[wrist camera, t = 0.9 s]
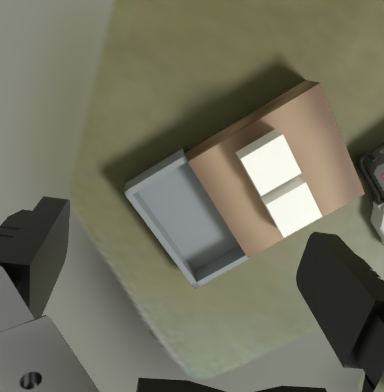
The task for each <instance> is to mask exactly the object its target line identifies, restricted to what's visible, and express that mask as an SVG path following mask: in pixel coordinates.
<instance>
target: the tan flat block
mask: <svg viewBox="0 0 384 392" xmlns="http://www.w3.org/2000/svg"><path fill="white" fill-rule="evenodd" d="M274 129H276V130H277V131H279V132H280V133H282V134H283V135H284V137H285V139H286V141H287V144H288V146H289V148H290V150H291V152H292V154H293V156H294V158H295V160H296V162H297V164H298V167H299V169H300V171H301V174H299V175H298V176H299V177H300V178H302V179H303V180H304V181H305V182H306V183H307V185H308V188H309V190H310V192H311V194H312V196H313V198H314V200H315V202H316V204H317V206H318V208H319V211H320V213H321V215H322V217H324V216H326V215H327V214H329V213H331V212H333V211H335V210H336V209H338V208H340V207H342V206H344V205H346V204H347V203H349V202H351V201H353V200H355V199H356V198H358V197H360V196H362V195H364V194H365V193H364V190H363V188H362V185H361V183H360V180H359V178H358V175H357V173H356V170H355V168H354V165H353V163H352V160H351V158H350V155H349V153H348V150H347V148H346V145H345V143H344V141H343V138H342V136H341V133H340V131H339V128H338V126H337V123H336V121H335V118H334V116H333V113H332V111H331V108H330V106H329V103H328V101H327V98H326V96H325V93H324V91H323V88H322V86H321V83H318V82H313V81H308V80H305V81H303V82H302V83H300V84H298V85H297V86H295V87H293V88H292V89H290V90H288V91H287V92H285V93H283V94H282V95H280V96H278V97H277V98H275V99H273V100H272V101H270V102H268V103H267V104H265V105H263V106H262V107H260V108H258V109H257V110H255V111H253V112H252V113H250V114H248V115H247V116H245V117H244V118H242V119H240V120H239V121H237V122H235V123H234V124H232V125H230V126H229V127H227V128H225V129H224V130H222V131H220V132H219V133H217V134H215V135H214V136H212V137H210V138H209V139H207V140H205V141H204V142H202V143H200V144H199V145H197V146H195V147H194V148H192V149H190V150H189V151H187V152H185V155H186V158H187V161H188V163H189V165H190V166H191V168H192V169H193V171H194V173H195V174H196V176H197V177H198V179H199V181H200V182H201V184H202V185H203V187H204V189H205V190H206V192H207V193H208V195H209V197H210V198H211V200H212V201H213V203H214V205H215V206H216V208H217V210H218V211H219V213H220V214H221V216H222V218H223V219H224V221H225V222H226V224H227V226H228V227H229V229H230V230H231V232H232V234H233V235H234V237H235V238H236V240H237V242H238V243H239V245H240V246H241V248H242V250H243V251H244V253H245V254H246V256H247V258H249V257H251V256H253V255H255V254H257V253H258V252H260V251H262V250H264V249H266V248H267V247H269V246H271V245H273V244H275V243H277V242H278V241H280V240H282V239H284V237H283V236H282V235H281V233H280V232H279V230H278V229H277V227H276V226H275V224H274V222H273V220H272V218H271V217H270V215H269V213H268V211H267V209H266V207H265V206H264V204H263V202H262V200H261V198H260V197H259V196H260V194H259V193H258V192H257V190H256V189H255V188H254V186H253V184H252V182H251V180H250V179H249V177H248V175H247V173H246V171H245V169H244V168H243V166H242V164H241V162H240V160H239V159H238V157H237V155H236V153H235V152H237V151H239V150H240V149H242V148H244V147H246V146H247V145H249V144H251V143H252V142H254V141H256V140H257V139H259V138H261V137H262V136H264V135H266V134H268V133H269V132H271V131H273V130H274ZM322 217H321V218H322ZM319 219H320V218H319ZM317 220H318V219H317ZM317 220H315V221H317ZM315 221H314V222H315ZM312 223H313V222H312ZM310 224H311V223H310ZM308 225H309V224H308ZM306 226H307V225H306ZM306 226H305V227H306ZM303 228H304V227H303ZM301 229H302V228H301ZM299 230H300V229H299ZM297 231H298V230H297ZM297 231H295V232H297ZM295 232H294V233H295ZM292 234H293V233H292ZM290 235H291V234H290ZM288 236H289V235H288ZM286 237H287V236H286ZM286 237H285V238H286Z"/></svg>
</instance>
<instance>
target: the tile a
mask: <svg viewBox="0 0 384 392" xmlns="http://www.w3.org/2000/svg"><path fill="white" fill-rule="evenodd" d="M235 153H236V155H237V157H238V159H239V160H240V162H241V164H242V166H243V168H244V169H245V171H246V173H247V175H248V177H249V179H250V180H251V182H252V184H253V186H254V188H255V189H256V190H257V192H258V193H259V194H260V196H262V195H264V194H266V193H268V192H269V191H271V190H273V189H275V188H276V187H278V186H280V185H282V184H283V183H285V182H287V181H289V180H290V179H292V178H294V177H296V176H297V175H299V174H301V171H300V169H299V167H298V164H297V162H296V160H295V158H294V156H293V154H292V152H291V150H290V148H289V146H288V144H287V141H286V139H285V137H284V135H283V134H282V133H280V132H279V131H277V130H276V129H274V130H273V131H271V132H269V133H268V134H266V135H264V136H262V137H261V138H259V139H257V140H256V141H254V142H252V143H251V144H249V145H247V146H246V147H244V148H242V149H240V150H239V151H237V152H235Z"/></svg>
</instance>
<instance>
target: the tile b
mask: <svg viewBox="0 0 384 392" xmlns="http://www.w3.org/2000/svg"><path fill="white" fill-rule="evenodd" d="M259 197H260V198H261V200H262V202H263V204H264V206H265V207H266V209H267V211H268V213H269V215H270V217H271V218H272V220H273V222H274V224H275V226H276V227H277V229H278V230H279V232H280V233H281V235H282V236H283V237H284V238H285V237H286V236H288V235H290V234H292V233H294V232H295V231H297V230H299V229H301V228H303V227H305V226H306V225H308V224H310V223H312V222H314V221H315V220H317V219H319V218H321V217H322V215H321V213H320V211H319V208H318V206H317V204H316V202H315V200H314V198H313V196H312V194H311V192H310V190H309V188H308V185H307V183H306V182H305V181H304V180H303V179H302V178H300V177H299V176H298V175H297V176H296V177H294V178H292V179H290V180H289V181H287V182H285V183H283V184H282V185H280V186H278V187H276V188H275V189H273V190H271V191H269V192H268V193H266V194H264V195H262V196H259Z"/></svg>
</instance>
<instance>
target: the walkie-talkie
mask: <svg viewBox="0 0 384 392" xmlns="http://www.w3.org/2000/svg"><path fill="white" fill-rule="evenodd" d="M365 157H366V158H365ZM357 164H358V166H359V168H360V170H361V172H362V173H363V175H364V177H365V178H366V180H367V182H368V183H369V185H370V187H371V189H372V191H373V193H374V200H375V201H373V202H372V203H373V204H374V205H373V210H372V215H371V223H372V224H373V226H374V228H375V229H376V231H377V232H378V234H379V236H380V237H381V242H382V243H383V245H384V145H383V146H381V147H380V148H378V149H377V150H376V151H374V152H373V153H369V152H363V153H361V154H359V156H358V158H357Z"/></svg>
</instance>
